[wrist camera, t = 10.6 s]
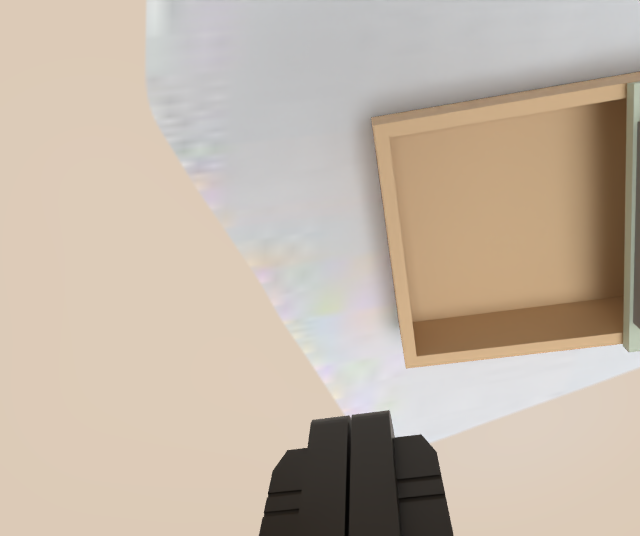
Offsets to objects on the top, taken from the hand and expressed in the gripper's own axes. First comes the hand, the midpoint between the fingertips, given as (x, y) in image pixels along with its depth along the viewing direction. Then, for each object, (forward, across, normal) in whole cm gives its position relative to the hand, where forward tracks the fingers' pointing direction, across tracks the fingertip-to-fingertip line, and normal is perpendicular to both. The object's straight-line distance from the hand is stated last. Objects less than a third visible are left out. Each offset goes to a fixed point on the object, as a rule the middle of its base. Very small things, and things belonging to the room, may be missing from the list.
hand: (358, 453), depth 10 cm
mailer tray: (+29, -11, +4) cm, 32 cm away
